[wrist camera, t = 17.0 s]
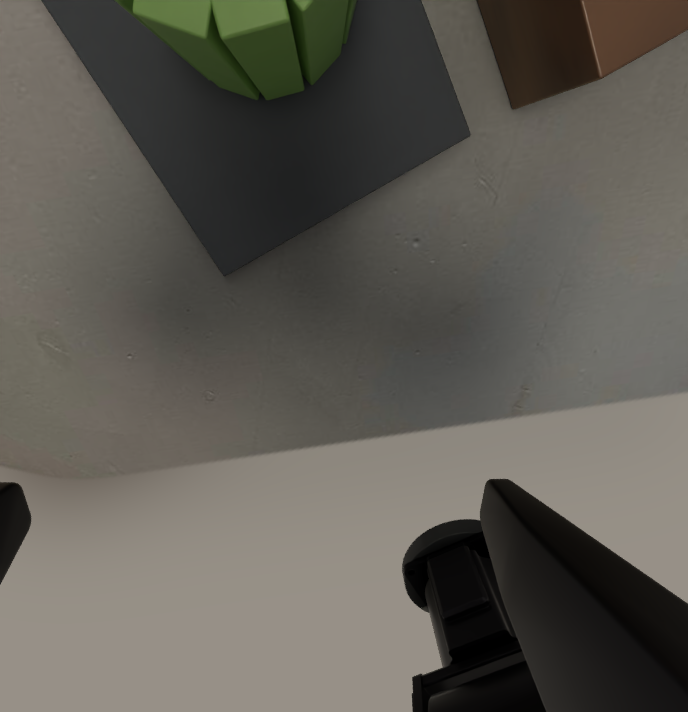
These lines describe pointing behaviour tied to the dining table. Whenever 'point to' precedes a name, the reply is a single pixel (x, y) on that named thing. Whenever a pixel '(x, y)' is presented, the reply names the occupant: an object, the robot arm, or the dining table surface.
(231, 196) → the mat
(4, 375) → the dining table surface
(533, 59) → the stand
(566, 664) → the robot arm
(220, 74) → the green slatted pot
